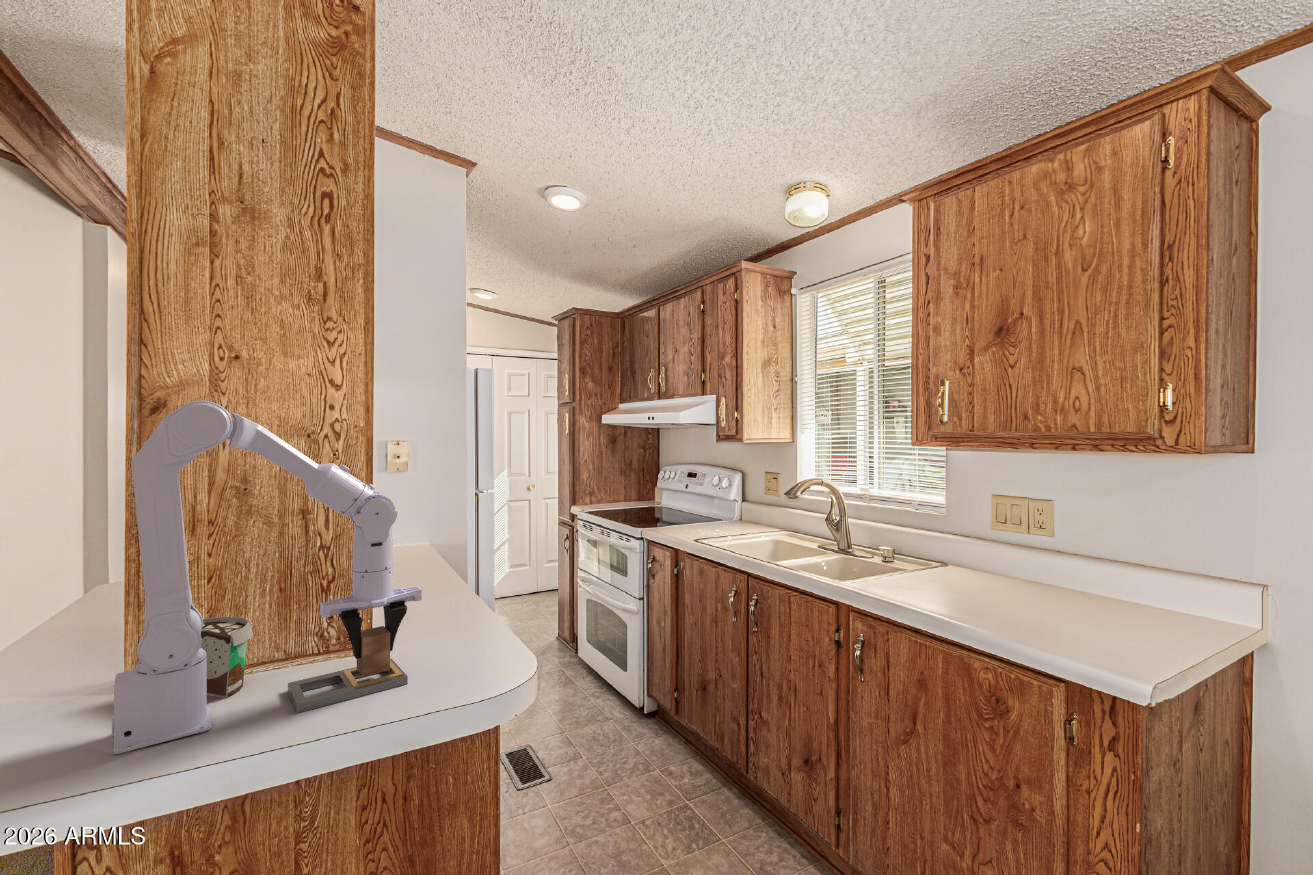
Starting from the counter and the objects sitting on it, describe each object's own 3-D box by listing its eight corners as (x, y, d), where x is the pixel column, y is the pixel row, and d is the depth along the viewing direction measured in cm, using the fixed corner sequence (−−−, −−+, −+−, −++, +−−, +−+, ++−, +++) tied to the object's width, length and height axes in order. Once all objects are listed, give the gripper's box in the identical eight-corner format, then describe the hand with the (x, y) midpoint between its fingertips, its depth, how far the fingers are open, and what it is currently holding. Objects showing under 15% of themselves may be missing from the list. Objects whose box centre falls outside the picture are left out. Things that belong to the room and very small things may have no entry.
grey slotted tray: (296, 713, 81) (296, 703, 81) (287, 690, 88) (287, 681, 88) (407, 683, 91) (407, 674, 91) (391, 665, 97) (391, 657, 97)
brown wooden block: (362, 676, 89) (362, 638, 88) (356, 668, 92) (356, 631, 92) (390, 669, 91) (390, 632, 91) (383, 661, 94) (383, 625, 94)
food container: (272, 682, 91) (272, 619, 91) (234, 699, 85) (234, 632, 85) (213, 672, 94) (213, 612, 94) (173, 688, 88) (173, 624, 88)
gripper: (326, 580, 84) (326, 673, 84) (427, 566, 93) (427, 649, 93) (317, 571, 89) (317, 658, 89) (414, 558, 98) (414, 637, 98)
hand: (373, 652), depth 91 cm, fingers closed on brown wooden block, 4 cm apart
